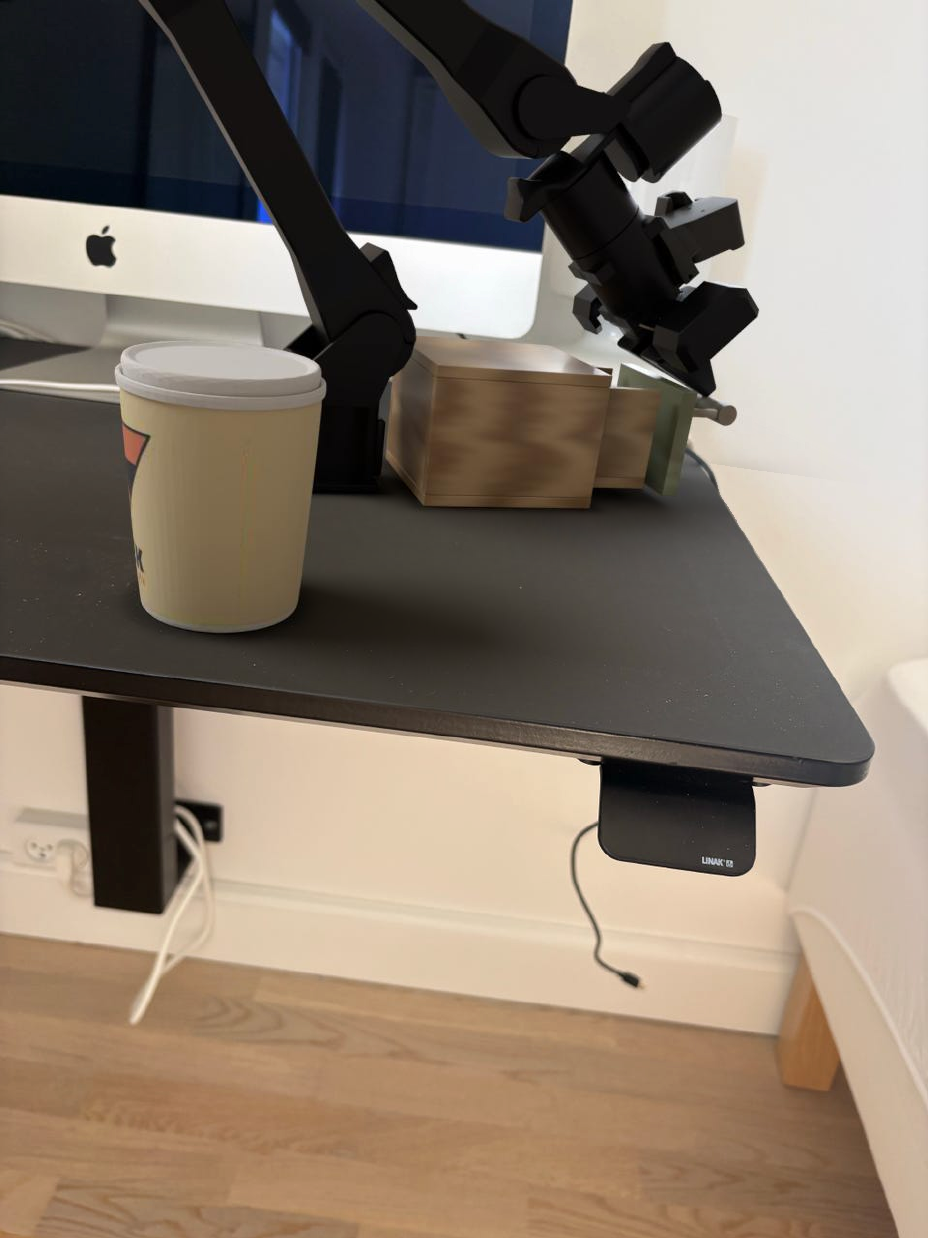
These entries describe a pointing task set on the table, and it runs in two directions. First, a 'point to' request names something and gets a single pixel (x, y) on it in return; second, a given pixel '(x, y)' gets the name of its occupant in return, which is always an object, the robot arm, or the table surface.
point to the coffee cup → (219, 478)
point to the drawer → (650, 429)
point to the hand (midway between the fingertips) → (709, 392)
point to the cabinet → (496, 424)
